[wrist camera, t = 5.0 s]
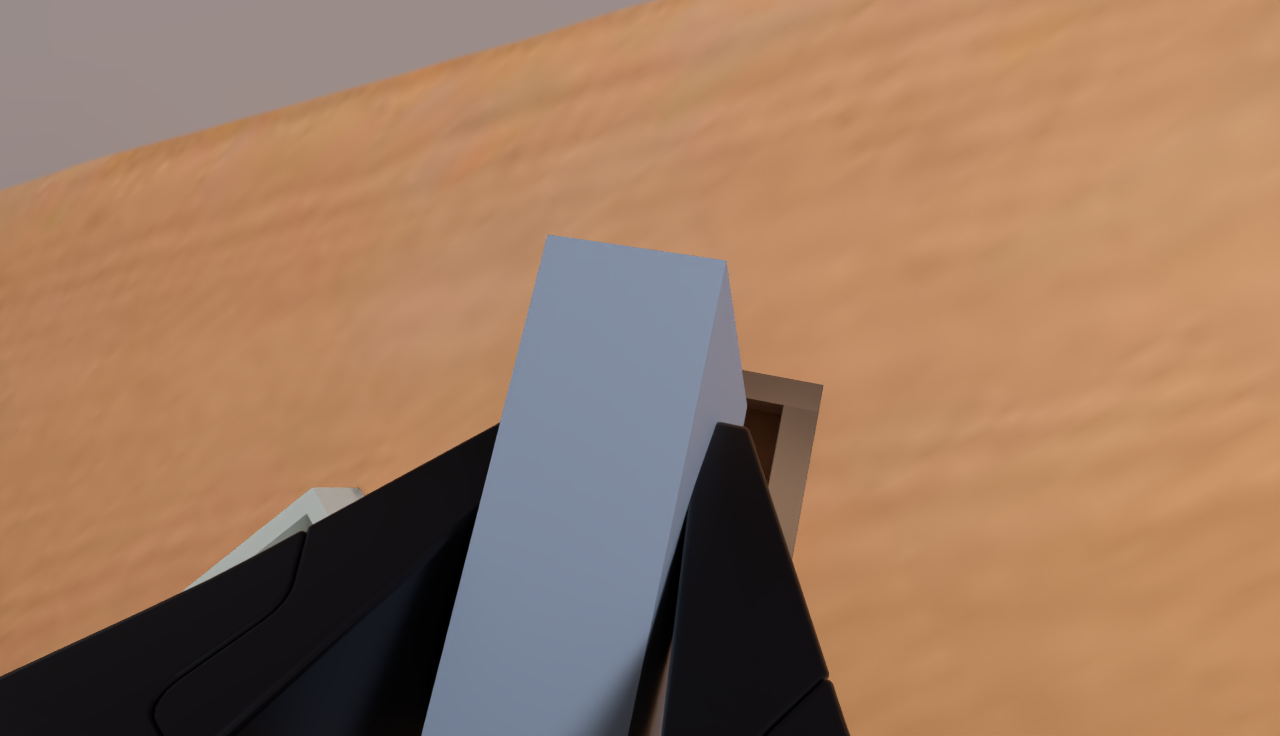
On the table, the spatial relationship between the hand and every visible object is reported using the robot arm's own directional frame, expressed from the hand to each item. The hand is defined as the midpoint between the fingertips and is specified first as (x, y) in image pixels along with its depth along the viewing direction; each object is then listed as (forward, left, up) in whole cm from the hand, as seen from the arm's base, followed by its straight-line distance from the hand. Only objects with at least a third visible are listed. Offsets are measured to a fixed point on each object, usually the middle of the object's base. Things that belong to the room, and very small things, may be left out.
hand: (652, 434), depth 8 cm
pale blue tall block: (-1, -1, -7) cm, 7 cm away
